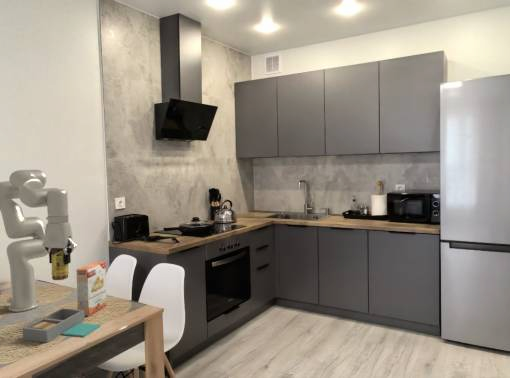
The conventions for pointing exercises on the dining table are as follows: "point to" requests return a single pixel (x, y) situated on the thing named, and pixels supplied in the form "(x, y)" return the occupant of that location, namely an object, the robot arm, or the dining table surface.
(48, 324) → the offcut upper
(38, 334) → the rack
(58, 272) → the sauce bottle
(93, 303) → the cracker box
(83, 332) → the mat
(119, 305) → the dining table surface
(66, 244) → the robot arm
